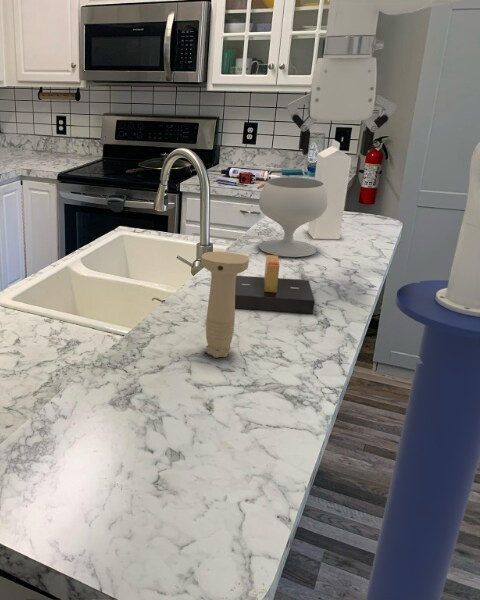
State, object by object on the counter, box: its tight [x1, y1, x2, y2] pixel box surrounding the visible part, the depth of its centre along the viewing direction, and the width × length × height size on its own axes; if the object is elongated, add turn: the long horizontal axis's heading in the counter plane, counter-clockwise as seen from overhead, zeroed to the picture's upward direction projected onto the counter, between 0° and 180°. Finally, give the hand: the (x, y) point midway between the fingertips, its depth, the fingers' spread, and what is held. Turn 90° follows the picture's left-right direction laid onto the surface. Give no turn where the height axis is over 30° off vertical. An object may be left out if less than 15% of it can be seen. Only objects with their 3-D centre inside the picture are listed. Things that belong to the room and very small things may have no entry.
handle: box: [200, 251, 250, 359], centre depth 88 cm, size 5×6×15 cm
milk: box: [307, 139, 352, 240], centre depth 141 cm, size 6×6×22 cm
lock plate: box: [235, 275, 315, 315], centre depth 109 cm, size 14×10×3 cm
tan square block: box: [263, 254, 280, 293], centre depth 107 cm, size 6×2×5 cm, turn 165°
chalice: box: [258, 176, 327, 258], centre depth 133 cm, size 14×14×15 cm
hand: (333, 154), depth 107 cm, fingers open, 9 cm apart
